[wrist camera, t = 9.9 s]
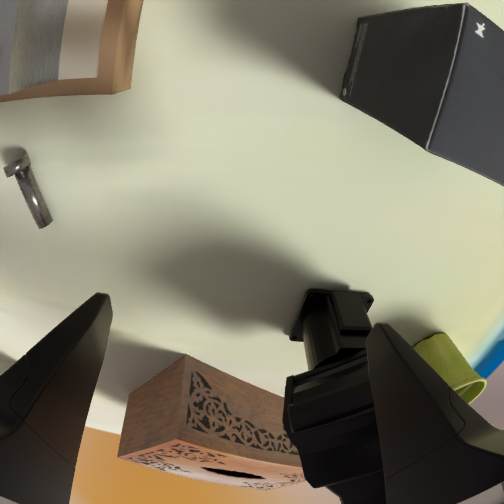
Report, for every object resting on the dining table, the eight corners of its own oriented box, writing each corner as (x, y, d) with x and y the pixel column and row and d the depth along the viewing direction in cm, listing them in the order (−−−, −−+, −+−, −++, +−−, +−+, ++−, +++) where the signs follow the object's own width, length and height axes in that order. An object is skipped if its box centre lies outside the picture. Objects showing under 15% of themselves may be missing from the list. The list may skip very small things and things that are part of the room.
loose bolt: (58, 216, 21) (46, 231, 19) (40, 222, 21) (27, 236, 19) (32, 151, 18) (16, 161, 16) (14, 160, 18) (-2, 171, 16)
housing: (80, -47, 8) (29, -68, 4) (58, 80, 12) (-1, 97, 8) (15, -27, 7) (-40, -33, 3) (-2, 87, 12) (-59, 108, 7)
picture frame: (130, 88, 16) (110, 95, 13) (-5, 97, 14) (-32, 108, 12) (156, -53, 10) (141, -70, 8) (9, -21, 9) (-18, -23, 6)
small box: (334, 105, 17) (419, 158, 9) (356, 14, 14) (461, -10, 5) (457, 150, 19) (552, 220, 10) (479, 75, 15) (587, 116, 6)
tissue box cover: (129, 392, 37) (117, 457, 29) (186, 352, 31) (176, 438, 23) (263, 440, 47) (266, 490, 39) (330, 413, 42) (340, 470, 33)
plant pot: (426, 318, 29) (456, 382, 22) (471, 325, 31) (499, 378, 24) (381, 368, 34) (399, 428, 27) (429, 369, 36) (448, 420, 29)
